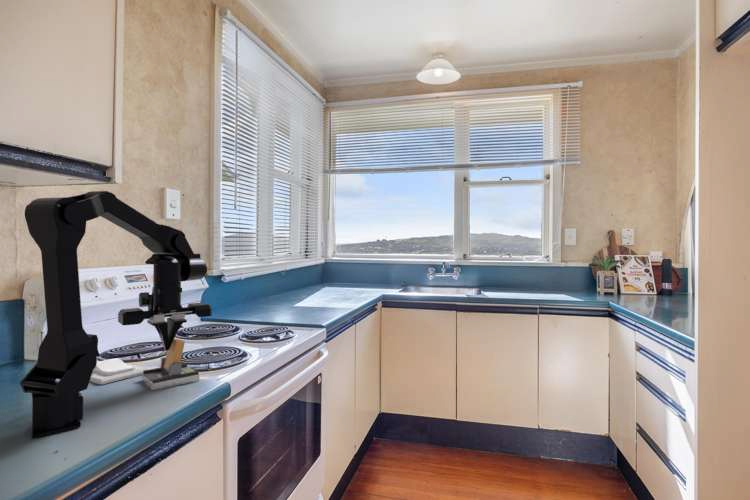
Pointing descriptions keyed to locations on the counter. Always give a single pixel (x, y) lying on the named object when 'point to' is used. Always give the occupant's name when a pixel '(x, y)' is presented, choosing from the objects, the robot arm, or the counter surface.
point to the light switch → (114, 371)
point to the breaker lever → (174, 353)
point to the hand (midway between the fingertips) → (166, 349)
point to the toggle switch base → (169, 375)
